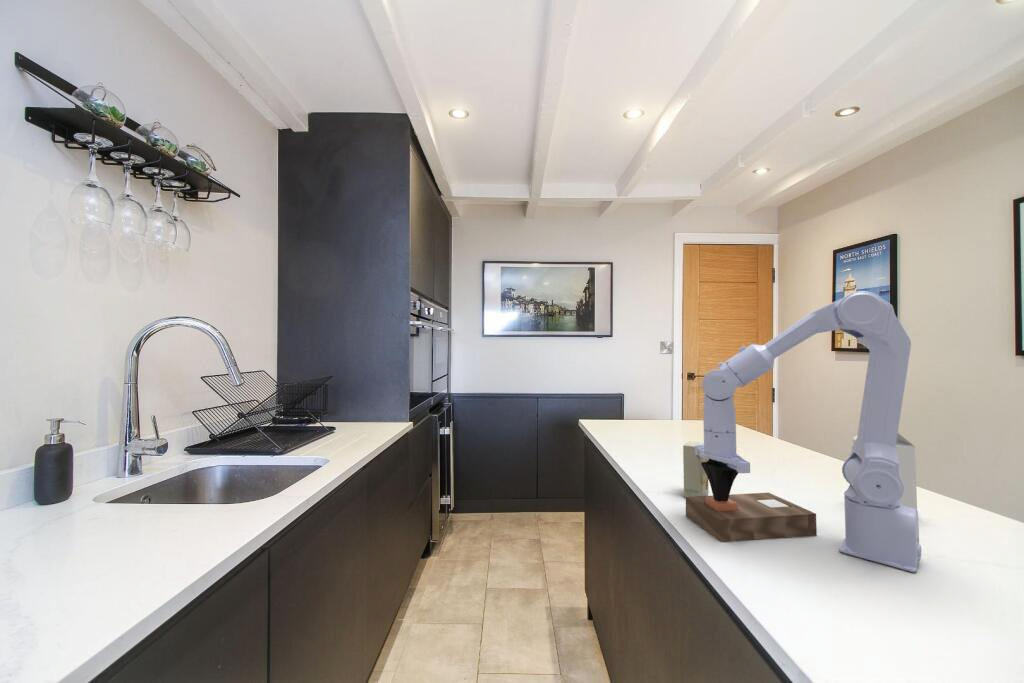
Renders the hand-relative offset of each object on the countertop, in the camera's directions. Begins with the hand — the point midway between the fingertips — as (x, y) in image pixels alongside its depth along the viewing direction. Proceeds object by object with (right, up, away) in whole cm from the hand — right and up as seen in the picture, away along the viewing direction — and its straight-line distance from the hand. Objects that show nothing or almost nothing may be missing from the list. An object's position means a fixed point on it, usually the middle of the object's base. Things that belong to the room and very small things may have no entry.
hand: (720, 500), depth 82 cm
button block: (+5, -5, +1) cm, 8 cm away
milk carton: (+37, -5, +6) cm, 38 cm away
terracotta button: (0, -4, 0) cm, 4 cm away
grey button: (+11, -5, +1) cm, 12 cm away
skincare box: (+3, -6, +18) cm, 19 cm away
